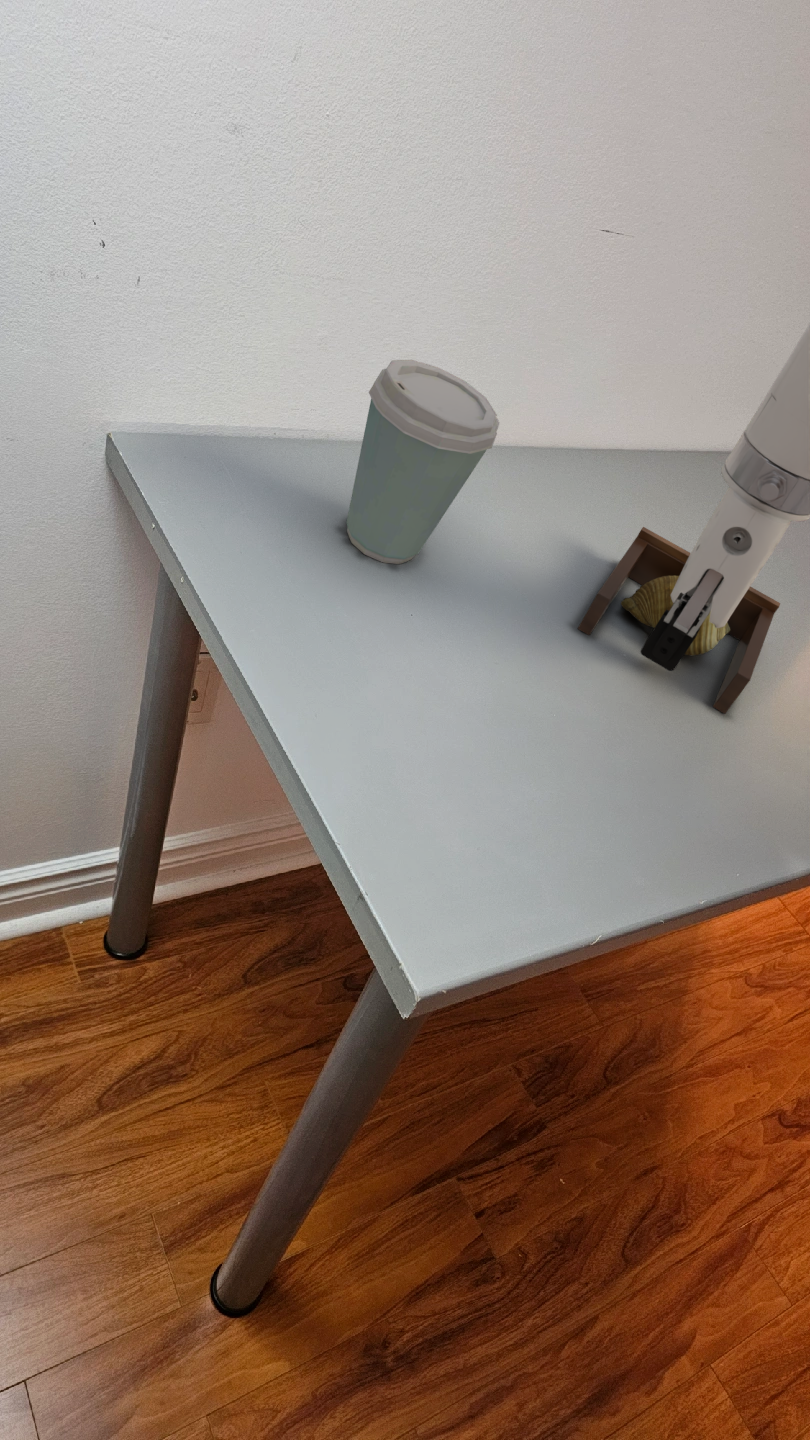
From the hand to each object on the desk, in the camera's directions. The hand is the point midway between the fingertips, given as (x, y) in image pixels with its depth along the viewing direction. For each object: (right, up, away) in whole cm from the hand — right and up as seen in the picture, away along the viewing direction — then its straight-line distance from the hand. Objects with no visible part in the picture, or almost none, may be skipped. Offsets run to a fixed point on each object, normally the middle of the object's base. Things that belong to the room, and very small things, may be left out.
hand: (658, 658), depth 90 cm
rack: (+3, +2, +6) cm, 7 cm away
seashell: (+2, +3, +6) cm, 7 cm away
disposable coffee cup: (-23, +10, +1) cm, 25 cm away
